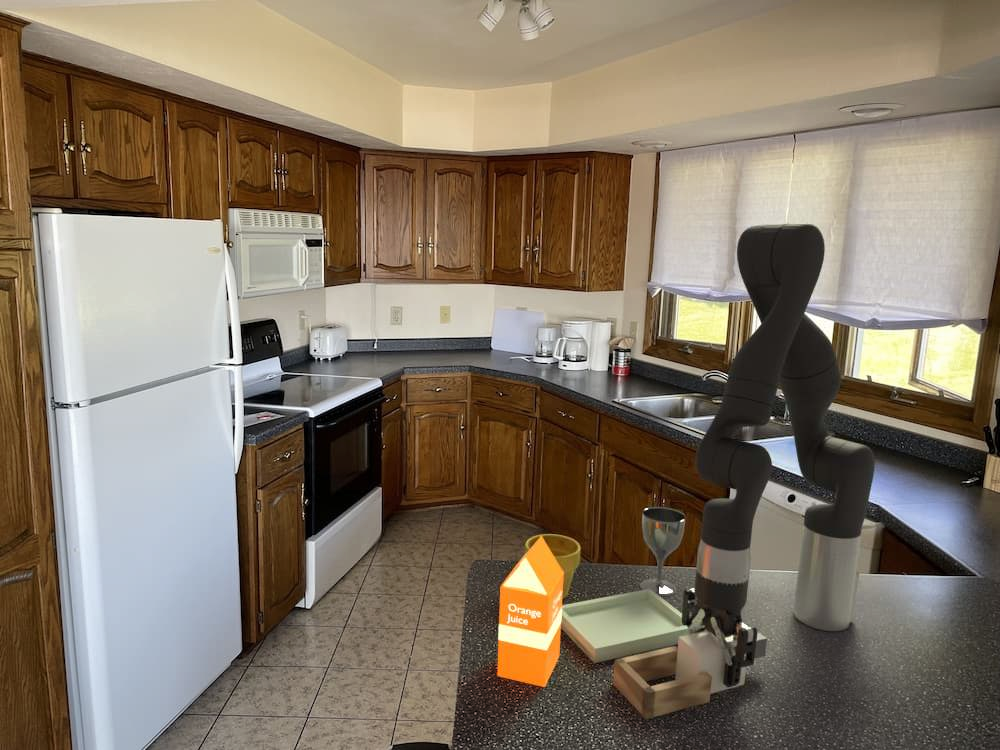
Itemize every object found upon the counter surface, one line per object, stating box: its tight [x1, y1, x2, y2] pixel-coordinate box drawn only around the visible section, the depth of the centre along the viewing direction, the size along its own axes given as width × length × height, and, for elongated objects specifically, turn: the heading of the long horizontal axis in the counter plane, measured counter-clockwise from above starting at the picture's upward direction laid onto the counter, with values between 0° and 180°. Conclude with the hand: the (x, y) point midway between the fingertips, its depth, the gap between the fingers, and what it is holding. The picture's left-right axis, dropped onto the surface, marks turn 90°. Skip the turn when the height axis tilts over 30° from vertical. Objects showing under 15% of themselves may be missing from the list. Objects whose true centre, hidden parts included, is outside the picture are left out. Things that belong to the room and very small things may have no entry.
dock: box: [612, 645, 712, 720], centre depth 104 cm, size 11×9×4 cm
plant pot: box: [524, 533, 582, 600], centre depth 133 cm, size 10×10×10 cm
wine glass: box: [639, 506, 686, 597], centre depth 136 cm, size 8×8×15 cm
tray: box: [561, 589, 689, 664], centre depth 121 cm, size 20×14×2 cm
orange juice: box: [496, 536, 564, 688], centre depth 108 cm, size 8×9×20 cm
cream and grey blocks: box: [674, 630, 768, 695], centre depth 108 cm, size 14×5×7 cm, turn 113°
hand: (712, 670), depth 108 cm, fingers open, 7 cm apart
